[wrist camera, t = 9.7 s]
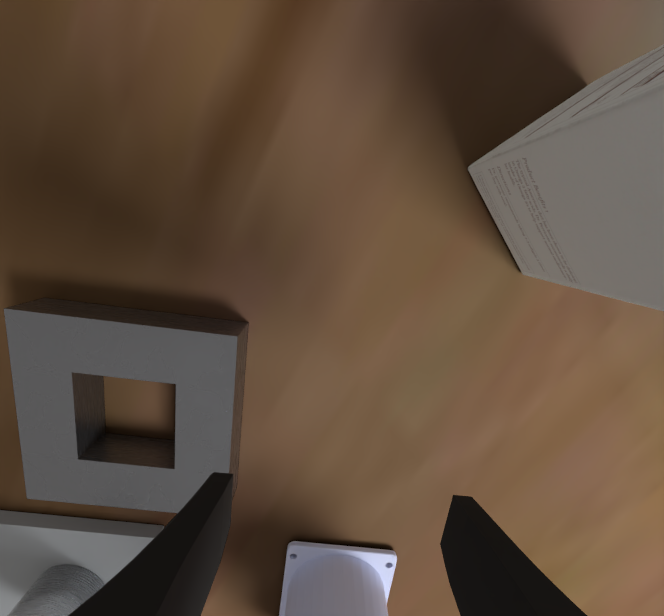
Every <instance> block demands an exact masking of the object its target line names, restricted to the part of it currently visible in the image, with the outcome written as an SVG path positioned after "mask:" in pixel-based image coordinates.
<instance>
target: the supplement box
mask: <svg viewBox="0 0 664 616" xmlns="http://www.w3.org/2000/svg"><path fill="white" fill-rule="evenodd" d="M468 171H469V173H470V175H471V176H472V178H473V180H474V182H475V184H476V186H477V188H478V190H479V192H480V194H481V196H482V198H483V200H484V202H485V204H486V206H487V208H488V209H489V211H490V213H491V215H492V217H493V219H494V221H495V223H496V225H497V227H498V228H499V230H500V232H501V234H502V236H503V238H504V240H505V242H506V244H507V246H508V247H509V249H510V251H511V253H512V255H513V257H514V259H515V261H516V263H517V265H518V266H519V268H520V270H521V272H522V274H523V275H527V276H531V277H534V278H538V279H542V280H546V281H550V282H554V283H557V284H561V285H565V286H569V287H573V288H577V289H581V290H584V291H588V292H592V293H596V294H599V295H603V296H607V297H611V298H615V299H618V300H622V301H626V302H630V303H634V304H638V305H642V306H646V307H649V308H653V309H657V310H661V311H664V45H662V46H660V47H658V48H656V49H654V50H652V51H650V52H648V53H647V54H645V55H643V56H641V57H639V58H637V59H635V60H633V61H631V62H629V63H627V64H625V65H623V66H622V67H620V68H618V69H616V70H614V71H612V72H610V73H608V74H606V75H605V76H603V77H601V78H599V79H597V80H595V81H594V82H592V83H591V84H589V85H588V86H586V87H585V88H584V89H582V90H581V91H579V92H578V93H576V94H575V95H573V96H572V97H570V98H569V99H567V100H566V101H564V102H563V103H561V104H560V105H558V106H557V107H555V108H554V109H552V110H551V111H549V112H548V113H546V114H545V115H543V116H542V117H540V118H539V119H537V120H536V121H534V122H533V123H531V124H530V125H528V126H527V127H525V128H524V129H523V130H521V131H520V132H518V133H517V134H515V135H514V136H512V137H511V138H509V139H508V140H506V141H505V142H503V143H502V144H500V145H499V146H497V147H496V148H494V149H493V150H491V151H490V152H488V153H487V154H486V155H484V156H483V157H481V158H480V159H478V160H477V161H475V162H474V163H473V164H471V165H470V166H469V167H468Z"/></svg>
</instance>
